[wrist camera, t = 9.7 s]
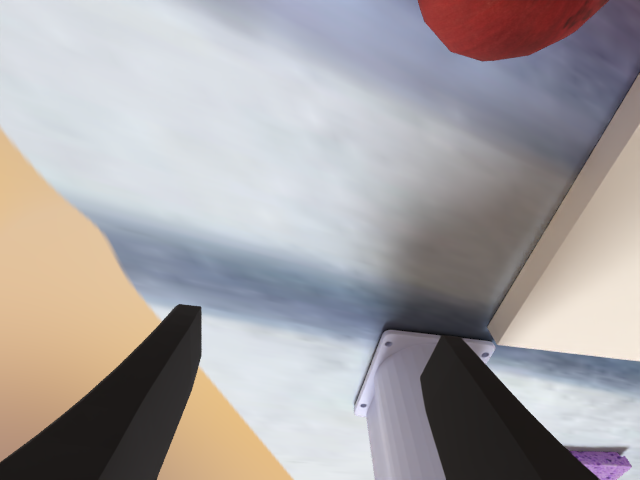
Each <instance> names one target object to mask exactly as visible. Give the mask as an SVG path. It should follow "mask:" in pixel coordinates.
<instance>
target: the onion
mask: <svg viewBox="0 0 640 480" xmlns="http://www.w3.org/2000/svg"><path fill="white" fill-rule="evenodd" d="M608 1H609V0H418V3H419V6H420V10H421V13H422V16H423V19H424V22H425V23H426V24H427V25H428V26H429V27H430V28H431V30H432V31H433V32H434V33H435V34H436V35H437V36H438V38H439V39H440V40H441V41H442V42H443V43H444V44H445V46H446V47H447V48H448V49H449V50H450V51H451V52H454V53H457V54H460V55H463V56H467V57H470V58H473V59H476V60H480V61H494V60H501V59H508V58H514V57H521V56H528V55H531V54H533V53H535V52H537V51H539V50H541V49H543V48H545V47H547V46H549V45H551V44H553V43H555V42H557V41H559V40H561V39H563V38H565V37H567V36H569V35H570V34H572V33H574V32H575V31H576V30H578V29H579V28H580V27H581V26H582V25H583V24H584V23H585V22H586V21H587V20H588V19H589V18H591V17H592V16H593V15H594V14H595V13H596V12H597V11H598V10H599V9H600V8H601V7H602V6H604V5H605V4H606V3H607V2H608Z"/></svg>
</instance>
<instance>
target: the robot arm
mask: <svg viewBox="0 0 640 480" xmlns="http://www.w3.org/2000/svg"><path fill="white" fill-rule="evenodd" d="M388 341H390V342H388ZM494 351H495V346H494V344H493V343H492V342H490V341H483V340H475V339H466V338H461V337H456V336H447V335H441V336H440V335H432V334H423V333H415V332H406V331H398V330H387V331H385V332H384V333H383V334H382V337H381V340H380V342H379V345H378V347H377V350H376V353H375V355H374V358H373V360H372V363H371V366H370V368H369V371H368V373H367V376H366V378H365V381H364V384H363V386H362V389H361V391H360V394H359V397H358V399H357V402H356V404H355V407H354V414H355V415H356V416H360V417H366V419H367V426H368V433H369V441H370V448H371V455H372V462H373V469H374V476H375V480H600V479H599V478H598V477H597V476H596V475H595V474H594V473H592V472H591V471H590V470H589V469H588V468H587V467H586V466H585V465H584V464H582V463H581V462H580V461H579V460H578V459H577V458H576V457H575V456H574V455H572V454H571V453H570V452H569V451H568V450H567V449H566V448H565V447H564V446H563V445H562V444H561V443H560V442H559V441H558V440H557V439H556V438H555V437H554V436H553V435H552V434H551V433H550V432H549V431H548V430H547V429H546V428H545V427H544V426H543V425H542V424H541V423H540V422H539V421H538V420H537V419H536V418H535V417H534V416H533V415H532V414H531V413H530V412H529V411H528V410H527V409H526V408H525V407H524V406H523V405H522V404H521V403H520V402H519V400H518V399H517V398H516V397H515V396H514V395H513V394H512V393H511V392H510V391H509V390H508V389H507V387H506V386H505V385H504V384H503V383H502V382H501V381H500V380H499V379H498V378H497V376H496V375H495V374H494V373H493V372H492V371H491V370H490V369H489V368H488V366H487V365H486V363H487V361H488V360H489V358H490V357H491V355H492V354H493V352H494ZM200 359H201V307H199V306H191V305H182V304H179V305H177V306H176V307H175V308H174V309H173V310H172V311H171V312H170V313H169V315H168V316H167V317H166V318H165V319H164V320H163V321H162V322H161V323H160V324H159V326H158V327H157V328H156V329H155V330H154V331H153V332H152V333H151V334H150V335H149V336H148V337H147V338H146V339H145V340H144V341H143V342H142V343H141V344H140V345H139V346H138V347H137V348H136V349H135V350H134V351H133V352H132V353H131V354H130V355H129V356H128V357H127V358H126V359H125V360H124V361H123V362H122V363H121V364H120V365H119V366H118V367H117V368H116V369H115V370H113V371H112V372H111V373H110V374H109V375H108V376H107V377H106V378H105V379H103V381H101V382H100V383H99V384H98V385H97V386H96V387H95V388H93V389H92V390H91V391H90V392H89V393H88V394H87V395H86V396H85V397H83V398H82V399H81V400H80V401H79V402H77V403H76V404H75V405H74V406H73V407H71V408H70V409H69V410H68V411H67V412H65V413H64V414H63V415H62V416H61V417H59V418H58V419H57V420H55V421H54V422H53V423H52V424H50V425H49V426H48V427H47V428H45V429H44V430H43V431H41V432H40V433H39V434H38V435H36V436H35V437H34V438H32V439H31V440H30V441H28V442H27V443H26V444H24V445H23V446H22V447H20V448H19V449H18V450H16V451H15V452H13V453H12V454H11V455H9V456H8V457H7V458H5V459H4V460H3V461H1V462H0V480H157V477H158V474H159V472H160V469H161V467H162V464H163V462H164V459H165V456H166V454H167V452H168V449H169V447H170V444H171V442H172V439H173V436H174V434H175V431H176V429H177V426H178V424H179V421H180V419H181V416H182V414H183V411H184V409H185V406H186V404H187V401H188V398H189V396H190V393H191V391H192V387H193V384H194V380H195V377H196V373H197V370H198V366H199V362H200Z"/></svg>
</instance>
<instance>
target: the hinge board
mask: <svg viewBox="0 0 640 480" xmlns="http://www.w3.org/2000/svg"><path fill="white" fill-rule="evenodd" d="M487 328H488V330H489V332H490V333H491V335H492V337H493V338H494V340H495V342H496V344H497V345H504V346H513V347H521V348H530V349H539V350H547V351H556V352H565V353H573V354H582V355H590V356H599V357H608V358H616V359H625V360H634V361H640V73H639V75H638V77H637V78H636V80H635V82H634V83H633V85H632V87H631V88H630V90H629V92H628V93H627V95H626V97H625V98H624V100H623V102H622V103H621V105H620V107H619V108H618V110H617V112H616V113H615V115H614V117H613V118H612V120H611V122H610V123H609V125H608V127H607V128H606V130H605V132H604V133H603V135H602V137H601V138H600V140H599V142H598V143H597V145H596V147H595V148H594V150H593V152H592V153H591V155H590V157H589V158H588V160H587V162H586V163H585V165H584V167H583V168H582V170H581V172H580V173H579V175H578V177H577V178H576V180H575V182H574V183H573V185H572V187H571V188H570V190H569V192H568V193H567V195H566V197H565V198H564V200H563V202H562V203H561V205H560V207H559V208H558V210H557V212H556V213H555V215H554V217H553V218H552V220H551V222H550V223H549V225H548V227H547V228H546V230H545V232H544V233H543V235H542V237H541V238H540V240H539V242H538V243H537V245H536V247H535V248H534V250H533V252H532V253H531V255H530V257H529V258H528V260H527V262H526V263H525V265H524V267H523V268H522V270H521V272H520V273H519V275H518V277H517V278H516V280H515V282H514V283H513V285H512V287H511V288H510V290H509V292H508V293H507V295H506V297H505V298H504V300H503V302H502V303H501V305H500V307H499V308H498V310H497V312H496V313H495V315H494V317H493V318H492V320H491V322H490V323H489V325H488V327H487Z"/></svg>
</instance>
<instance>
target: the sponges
mask: <svg viewBox="0 0 640 480" xmlns="http://www.w3.org/2000/svg"><path fill="white" fill-rule="evenodd" d="M569 452H570V453H571V454H572V455H574V456H575V457H576V458H577V459H578V460H579V461H580V462H581V463H582V464H584V465H585V466H586V467H587V468H588V469H589V470H590V471H591V472H592V473H594V474H595V475H596V476H597V477H598V478H599V479H600V480H617V478H619V477H620V476H622V475H623V473H625V472H627V471H628V470H629V469H630V468H631V467H632V466H631V464H630V463H629V461H628V459H627V458H626V457H625V456H623V457H621V456H620V455H619V454H618V453H617V452H591V451H588V452H586V451H584V452H578V451H569Z"/></svg>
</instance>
